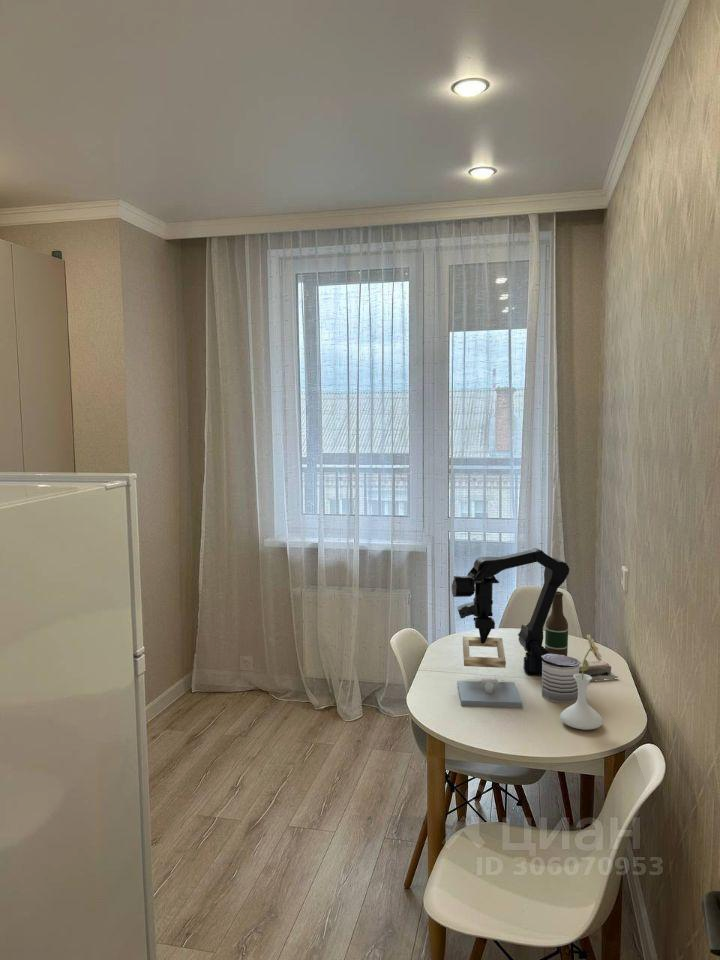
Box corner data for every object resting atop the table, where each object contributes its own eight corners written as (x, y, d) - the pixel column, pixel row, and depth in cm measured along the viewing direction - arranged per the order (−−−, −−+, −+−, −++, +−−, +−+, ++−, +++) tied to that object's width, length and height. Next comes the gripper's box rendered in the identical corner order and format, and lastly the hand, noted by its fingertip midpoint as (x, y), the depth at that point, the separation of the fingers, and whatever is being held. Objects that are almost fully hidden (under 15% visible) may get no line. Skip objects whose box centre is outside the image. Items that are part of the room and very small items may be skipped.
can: (535, 689, 220) (536, 652, 219) (570, 688, 221) (571, 651, 220) (548, 703, 209) (549, 664, 208) (585, 702, 210) (586, 663, 209)
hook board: (514, 687, 222) (514, 669, 221) (522, 707, 206) (522, 689, 205) (457, 685, 223) (457, 668, 223) (461, 705, 207) (461, 687, 207)
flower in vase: (592, 737, 186) (595, 646, 184) (552, 725, 194) (555, 637, 192) (611, 722, 196) (614, 635, 194) (572, 711, 203) (575, 627, 201)
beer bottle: (555, 653, 255) (557, 588, 253) (571, 659, 248) (573, 593, 246) (540, 656, 251) (541, 591, 249) (556, 663, 244) (558, 595, 242)
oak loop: (501, 644, 233) (502, 637, 232) (505, 667, 221) (505, 661, 220) (462, 642, 234) (462, 636, 233) (464, 666, 222) (464, 659, 221)
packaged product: (568, 670, 225) (553, 659, 235) (567, 684, 225) (553, 673, 235) (618, 666, 228) (602, 656, 238) (618, 680, 229) (602, 670, 238)
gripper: (458, 588, 241) (457, 632, 242) (460, 602, 222) (459, 650, 224) (490, 589, 240) (489, 634, 241) (495, 603, 221) (494, 651, 222)
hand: (482, 642), depth 232 cm, fingers closed on oak loop, 2 cm apart
